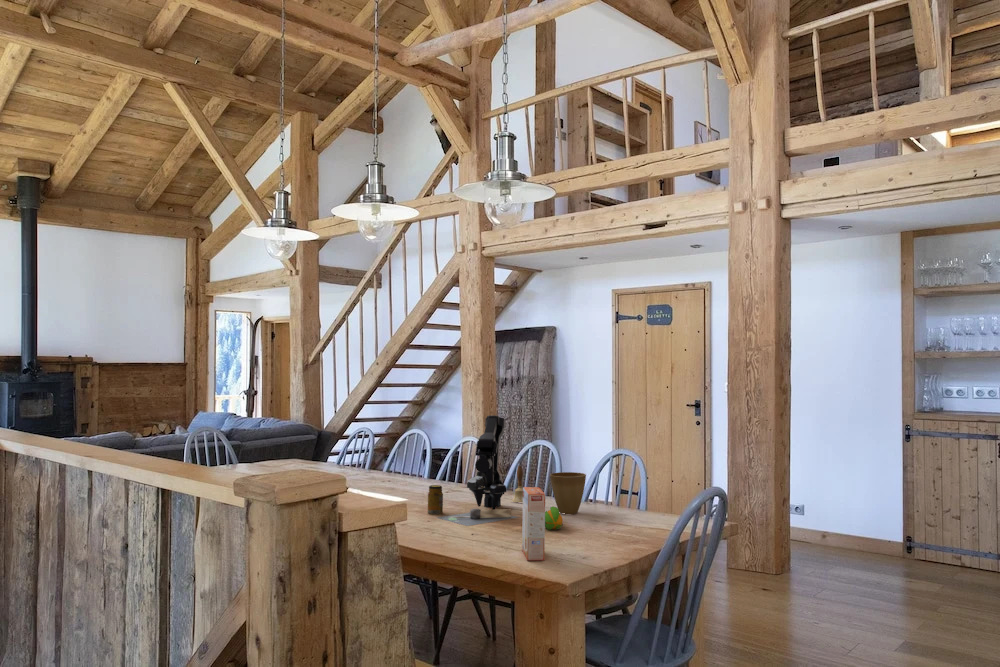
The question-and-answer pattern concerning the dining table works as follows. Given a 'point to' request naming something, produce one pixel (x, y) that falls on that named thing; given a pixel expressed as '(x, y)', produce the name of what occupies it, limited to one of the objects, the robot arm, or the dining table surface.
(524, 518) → the cracker box
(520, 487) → the hand bell
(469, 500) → the dining table surface
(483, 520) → the grey board
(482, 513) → the dial lever
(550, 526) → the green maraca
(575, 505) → the plant pot
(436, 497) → the condiment
